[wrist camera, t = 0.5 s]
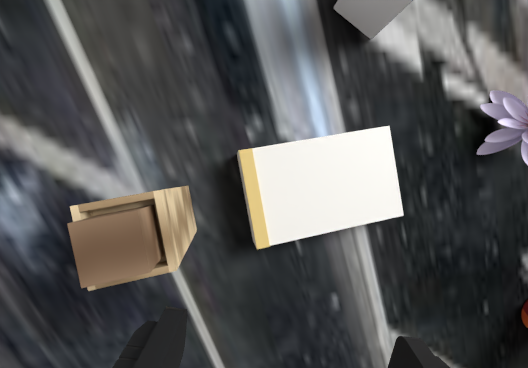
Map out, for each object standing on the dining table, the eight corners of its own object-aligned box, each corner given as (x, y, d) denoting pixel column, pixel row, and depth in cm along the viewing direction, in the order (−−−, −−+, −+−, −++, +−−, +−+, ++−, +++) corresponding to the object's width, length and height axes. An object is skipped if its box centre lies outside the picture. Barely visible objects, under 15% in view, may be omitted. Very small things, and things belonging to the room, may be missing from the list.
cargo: (98, 214, 20) (67, 223, 16) (153, 204, 20) (137, 210, 16) (109, 266, 20) (81, 288, 16) (164, 254, 20) (150, 272, 16)
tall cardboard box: (140, 194, 33) (69, 206, 18) (188, 185, 34) (160, 189, 19) (149, 240, 33) (88, 290, 18) (196, 230, 34) (176, 270, 19)
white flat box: (236, 154, 35) (238, 150, 31) (371, 131, 38) (390, 125, 34) (252, 241, 35) (257, 249, 31) (385, 211, 39) (405, 215, 34)
